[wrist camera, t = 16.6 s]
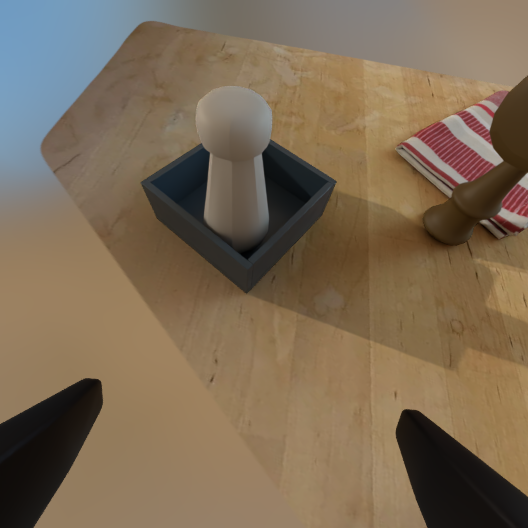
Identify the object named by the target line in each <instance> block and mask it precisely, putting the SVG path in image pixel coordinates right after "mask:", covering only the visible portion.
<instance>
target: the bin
mask: <svg viewBox="0 0 528 528" xmlns="http://www.w3.org/2000/svg"><path fill="white" fill-rule="evenodd" d="M209 159H210V152H208V151H207V150H206V149H205V148H204V146H203V145H202V143H201V144H199V145H198V146H196V147H195V148H193V149H192V150H190V151H189V152H187V153H185V154H184V155H182V156H181V157H179V158H178V159H176V160H175V161H173V162H171V163H170V164H168V165H167V166H165V167H164V168H162V169H161V170H159V171H157V172H156V173H154V174H153V175H151V176H150V177H148V178H147V179H145V180H143V181H142V182H141V185H142V187H143V189H144V191H145V193H146V195H147V198H148V200H149V202H150V204H151V206H152V208H153V210H154V213H155V215H156V217H157V219H159V220H160V221H161V222H162V223H163V224H164V225H166V226H167V227H168V228H169V229H170V230H172V231H173V232H174V233H175V234H176V235H177V236H179V237H180V238H181V239H182V240H183V241H185V242H186V243H187V244H188V245H189V246H191V247H192V248H193V249H194V250H195V251H196V252H198V253H199V254H200V255H201V256H202V257H204V258H205V259H206V260H207V261H208V262H209V263H211V264H212V265H213V266H214V267H215V268H217V269H218V270H219V271H220V272H221V273H222V274H224V275H225V276H226V277H227V278H228V279H230V280H231V281H232V282H233V283H234V284H235V285H237V286H238V287H239V288H240V289H241V290H243V291H244V292H245V293H246V294H247V293H248V292H249V291H250V290H251V289H252V288H253V287H254V286H255V285H256V284H257V283H258V282H259V281H260V279H261V278H262V277H263V276H264V275H265V274H266V273H267V272H268V271H269V270H270V269H271V268H272V267H273V266H274V265H275V264H276V263H277V262H278V261H279V260H280V259H281V257H282V256H283V255H284V254H285V253H286V252H287V251H288V250H289V249H290V248H291V247H292V246H293V245H294V244H295V243H296V242H297V241H298V240H299V239H300V238H301V237H302V236H303V234H304V233H305V232H306V231H307V230H308V229H309V228H310V227H311V226H312V225H313V224H314V223H315V222H316V221H317V220H318V219H319V218H320V217H321V216H322V214H323V212H324V209H325V207H326V205H327V203H328V200H329V198H330V196H331V193H332V191H333V189H334V187H335V184H336V182H337V181H335V180H334V179H332V178H331V177H329V176H328V175H326V174H324V173H323V172H321V171H320V170H318V169H317V168H315V167H313V166H312V165H310V164H309V163H307V162H305V161H304V160H302V159H301V158H299V157H298V156H296V155H294V154H293V153H291V152H290V151H288V150H287V149H285V148H283V147H282V146H280V145H279V144H277V143H275V142H274V141H272V140H271V139H270V142H269V144H268V146H267V147H266V148H265V150H264V151H263V152H262V161H263V169H264V178H265V187H266V195H267V204H268V213H269V225H268V232H267V234H266V235H265V237H264V238H263V240H262V241H261V242H260V244H259V245H257V246H256V247H255V248H254V249H253V250H249V251H246V252H243V253H238V252H236V251H235V250H234V249H233V248H232V247H230V246H229V245H228V244H227V243H225V242H224V241H223V240H222V239H220V238H219V237H218V236H217V235H215V234H214V233H213V232H212V231H210V230H209V229H208V228H207V227H205V226H204V225H203V219H204V210H205V201H206V192H207V183H208V171H209Z"/></svg>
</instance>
